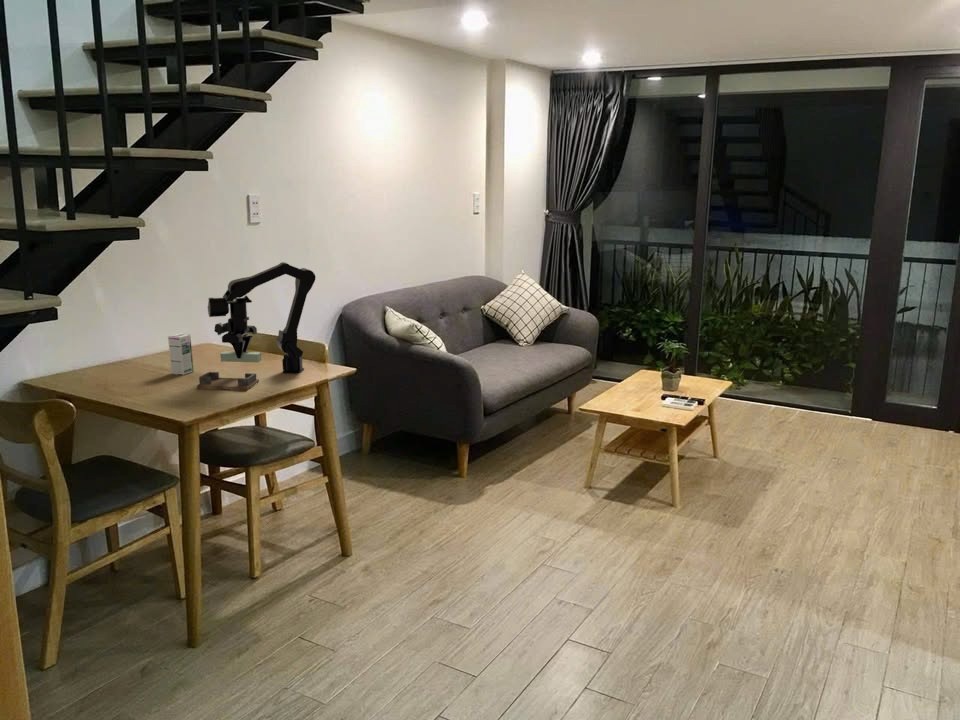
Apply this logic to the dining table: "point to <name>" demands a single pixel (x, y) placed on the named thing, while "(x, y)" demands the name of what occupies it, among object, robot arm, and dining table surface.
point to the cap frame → (226, 381)
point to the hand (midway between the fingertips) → (241, 357)
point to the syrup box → (180, 353)
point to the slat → (241, 357)
